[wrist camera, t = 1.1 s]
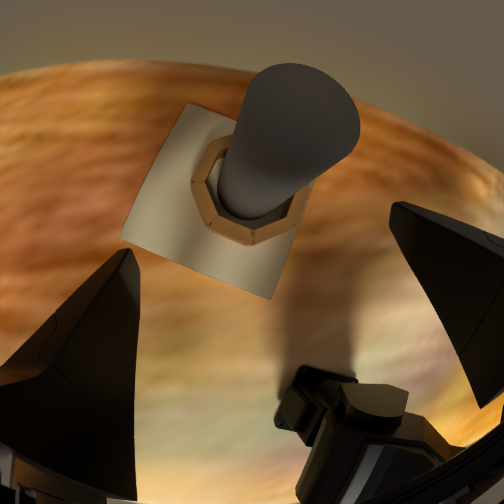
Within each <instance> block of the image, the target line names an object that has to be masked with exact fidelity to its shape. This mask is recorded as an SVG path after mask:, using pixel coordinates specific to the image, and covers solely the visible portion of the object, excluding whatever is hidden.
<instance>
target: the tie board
mask: <svg viewBox="0 0 504 504" xmlns="http://www.w3.org/2000/svg"><path fill="white" fill-rule="evenodd" d="M236 123H237V121H235V120H232V119H230V118H227V117H225V116H222V115H220V114H217V113H215V112H212V111H209V110H207V109H204V108H201V107H199V106H196V105H193V104H191V103H187V105H186V106H185V108H184V110H183V111H182V113H181V115H180V116H179V118H178V120H177V121H176V123H175V125H174V126H173V128H172V130H171V132H170V133H169V135H168V137H167V139H166V141H165V142H164V144H163V146H162V148H161V150H160V152H159V153H158V155H157V157H156V159H155V161H154V163H153V165H152V167H151V169H150V171H149V173H148V175H147V177H146V179H145V181H144V183H143V185H142V187H141V189H140V191H139V193H138V195H137V197H136V200H135V202H134V204H133V206H132V208H131V211H130V213H129V215H128V217H127V220H126V222H125V224H124V227H123V229H122V231H121V234H120V236H119V238H121V239H123V240H125V241H128V242H130V243H132V244H134V245H137V246H139V247H141V248H144V249H146V250H148V251H150V252H153V253H155V254H157V255H160V256H162V257H164V258H167V259H169V260H172V261H174V262H176V263H179V264H181V265H183V266H186V267H188V268H191V269H193V270H196V271H198V272H200V273H203V274H205V275H208V276H210V277H213V278H215V279H218V280H220V281H223V282H225V283H228V284H230V285H233V286H235V287H238V288H240V289H243V290H245V291H248V292H251V293H253V294H256V295H258V296H261V297H263V298H266V299H269V300H271V298H272V296H273V293H274V290H275V288H276V285H277V283H278V280H279V277H280V275H281V272H282V269H283V267H284V264H285V261H286V259H287V256H288V253H289V251H290V248H291V245H292V243H293V240H294V237H295V234H296V232H297V229H298V226H299V223H300V221H301V218H302V215H303V212H304V209H305V207H306V204H307V201H308V198H309V195H310V192H311V190H312V187H313V184H314V181H315V179H314V180H313V181H312V182H310V183H309V184H307V185H306V186H305V187H303V188H302V189H301V190H299V191H298V192H296V193H295V194H294V195H292V196H291V197H290V198H288V199H287V200H286V201H284V202H283V203H282V204H280V205H279V206H278V207H276V208H275V209H273V210H272V211H271V212H269V213H268V214H267V215H265V216H264V217H262V218H260V219H256V220H241V219H238V218H235V217H233V216H232V215H230V214H229V213H228V212H226V211H225V209H224V208H223V207H222V205H221V204H220V202H219V199H218V196H217V184H218V180H219V176H220V173H221V170H222V167H223V163H224V160H225V157H226V154H227V150H228V147H229V144H230V141H231V138H232V135H233V132H234V129H235V126H236Z"/></svg>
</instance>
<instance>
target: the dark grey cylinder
mask: <svg viewBox="0 0 504 504" xmlns="http://www.w3.org/2000/svg"><path fill="white" fill-rule="evenodd" d="M359 135H360V119H359V115H358V111H357V109H356V106H355V104H354V102H353V100H352V99H351V97H350V96H349V94H348V93H347V92H346V90H345V89H344V88H343V87H342V86H341V85H340V84H339V83H338V82H336V81H335V80H334V79H333V78H331V77H330V76H329V75H327V74H325V73H324V72H322V71H320V70H317V69H315V68H313V67H309V66H306V65H302V64H295V63H286V64H278V65H274V66H271V67H268V68H266V69H264V70H263V71H261V72H260V73H259V74H257V75H256V77H255V78H254V79H253V80H252V82H251V83H250V85H249V88H248V90H247V93H246V96H245V99H244V102H243V105H242V108H241V111H240V114H239V117H238V120H237V123H236V126H235V129H234V132H233V135H232V138H231V141H230V144H229V147H228V150H227V154H226V157H225V160H224V163H223V167H222V170H221V173H220V176H219V180H218V184H217V196H218V199H219V202H220V204H221V205H222V207H223V208H224V209H225V211H226V212H228V213H229V214H230V215H232V216H233V217H235V218H238V219H241V220H256V219H260V218H262V217H264V216H265V215H267V214H268V213H269V212H271V211H272V210H273V209H275V208H276V207H278V206H279V205H280V204H282V203H283V202H284V201H286V200H287V199H288V198H290V197H291V196H292V195H294V194H295V193H296V192H298V191H299V190H301V189H302V188H303V187H305V186H306V185H307V184H309V183H310V182H312V181H313V180H314V179H316V178H317V177H318V176H320V175H321V174H323V173H324V172H325V171H327V170H328V169H329V168H331V167H332V166H334V165H335V164H336V163H338V162H339V161H341V160H342V159H343V158H345V157H346V156H347V155H348V154H349V153H351V151H352V150H353V149H354V147H355V146H356V144H357V142H358V139H359Z"/></svg>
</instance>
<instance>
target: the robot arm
mask: <svg viewBox="0 0 504 504" xmlns="http://www.w3.org/2000/svg"><path fill="white" fill-rule="evenodd" d="M389 227H390V230H391V232H392V234H393V236H394V237H395V239H396V241H397V243H398V245H399V247H400V249H401V251H402V253H403V255H404V257H405V259H406V261H407V263H408V264H409V266H410V268H411V269H412V271H413V273H414V274H415V276H416V277H417V279H418V281H419V283H420V284H421V286H422V288H423V289H424V291H425V293H426V295H427V296H428V298H429V300H430V302H431V304H432V305H433V307H434V309H435V311H436V313H437V315H438V317H439V319H440V320H441V322H442V324H443V326H444V328H445V330H446V332H447V334H448V336H449V338H450V340H451V342H452V344H453V347H454V349H455V351H456V353H457V355H458V357H459V360H460V362H461V364H462V367H463V369H464V371H465V373H466V376H467V378H468V381H469V383H470V385H471V388H472V390H473V393H474V396H475V398H476V401H477V403H478V406H479V408H480V409H482V408H483V407H485V406H486V405H487V404H489V403H490V402H491V401H493V400H494V399H495V398H497V397H498V396H499V395H501V394H502V393H503V392H504V239H503V238H501V237H498V236H496V235H493V234H491V233H488V232H486V231H484V230H483V231H482V230H481V229H479V228H476V227H474V226H471V225H469V224H466V223H463V222H461V221H458V220H456V219H453V218H450V217H447V216H445V215H442V214H439V213H436V212H434V211H431V210H428V209H425V208H422V207H419V206H416V205H413V204H410V203H407V202H404V201H400V202H394V203H393V204H392V206H391V213H390V219H389ZM139 321H140V269H139V266H138V264H137V261H136V259H135V256H134V254H133V251H132V250H131V249H130V248H126V249H121V250H118V251H117V252H116V253H115V254H114V255H113V256H112V257H110V258H109V259H108V260H107V261H106V262H105V263H104V264H103V265H102V266H101V267H100V268H99V269H97V270H96V271H95V272H94V273H93V274H92V275H91V276H90V277H89V278H88V279H87V280H86V281H85V282H84V283H83V284H82V285H81V286H80V287H79V288H78V289H77V290H76V291H75V292H74V293H73V294H72V295H71V296H70V297H69V298H68V299H67V300H66V301H65V302H64V303H63V304H62V305H61V306H60V307H59V308H58V309H57V310H56V311H55V313H53V314H52V315H51V316H50V317H49V318H48V319H47V320H46V321H45V323H44V324H43V325H42V326H41V327H40V328H39V329H38V330H37V331H36V332H35V333H34V334H33V335H32V336H31V337H30V338H29V339H28V340H27V341H26V342H25V343H24V344H23V345H22V346H21V347H20V348H19V349H18V350H17V351H16V352H15V353H14V354H13V355H12V356H11V357H10V358H9V359H8V360H7V361H6V362H5V363H4V364H3V365H2V366H1V367H0V504H108V498H112V499H119V500H128V501H137V486H136V471H135V444H134V437H133V436H134V398H135V373H136V356H137V343H138V332H139ZM304 369H306V372H304V373H303V370H304ZM353 381H354V383H352V382H353ZM408 395H409V392H408V391H405V390H403V389H400V388H397V387H394V386H391V385H388V384H361V383H359V382H358V379H356V378H354V377H350V376H346V375H342V374H338V373H334V372H330V371H326V370H322V369H319V368H315V367H311V366H308V365H302V366H300V368H299V369H298V372H297V374H296V376H295V378H294V381H293V383H292V385H290V386H289V387H288V390H287V392H286V394H285V396H284V398H283V401H282V403H281V405H280V407H279V413H278V415H277V417H276V420H275V422H274V424H275V426H276V427H277V428H278V429H284V430H289V431H294V432H296V433H297V434H298V435H299V437H300V438H301V440H302V441H303V442H304V444H305V445H306V446H308V447H312V450H311V452H310V455H309V457H308V460H307V462H306V464H305V467H304V469H303V471H302V474H301V476H300V478H299V481H298V483H297V485H296V487H295V490H296V496H297V498H298V500H299V501H300V503H301V504H504V405H503V409H502V415H501V421H500V424H499V425H497V426H496V427H495V428H494V429H492V430H491V431H490V432H488V433H487V434H486V435H484V436H483V437H482V438H480V439H479V440H478V441H476V442H475V443H473V444H472V445H470V446H469V447H467V448H465V447H457V446H452V445H450V444H448V442H447V441H446V440H445V439H444V438H443V437H442V436H441V435H440V434H439V433H438V432H437V430H436V429H435V428H434V427H433V426H432V425H431V424H430V423H429V422H428V421H427V420H426V418H424V417H423V416H420V415H416V414H412V413H408V412H405V408H406V404H407V399H408ZM279 422H282V423H281V424H278V423H279Z"/></svg>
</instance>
